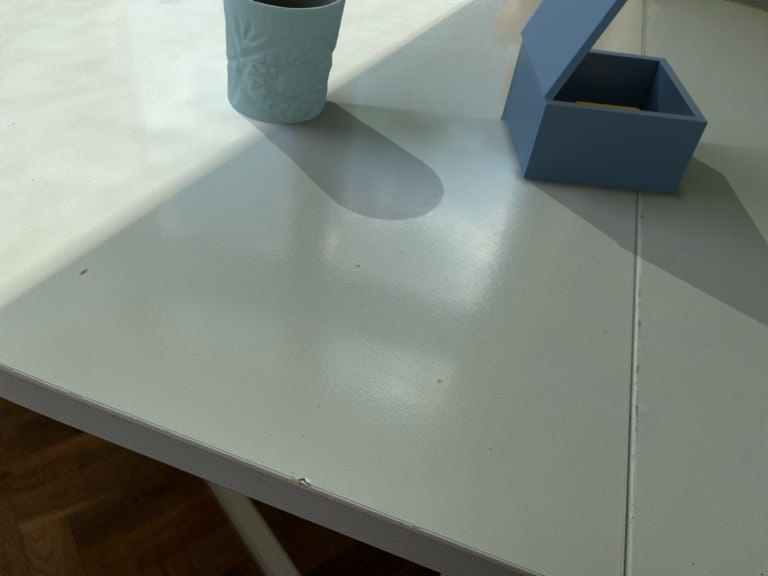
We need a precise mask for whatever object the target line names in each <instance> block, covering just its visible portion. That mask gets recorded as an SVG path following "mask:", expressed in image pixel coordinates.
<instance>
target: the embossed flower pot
mask: <svg viewBox="0 0 768 576" xmlns="http://www.w3.org/2000/svg"><path fill="white" fill-rule="evenodd" d="M346 1H347V0H222V2H223V13H224V21H225V56H226V60H227V61H226V62H227V63H226V71H227V81H226V82H227V84H226V85H227V87H226V88H227V89H226V91H227V92H226V93H227V95H226V96H227V101H228V103H229V104H230V106H231V107H232V108H233V109H234V110H235V111H236V112H238V113H239V114H240V115H242V116H245V117H247V118H249V119H252V120H254V121H259V122H262V123H268V124H278V125H287V124H291V125H292V124H298V123H303V122H305V121H306V122H307V121H310V120H312V119H315V118H316V117H317V116H319V115H320V114H321V113H322V112H323V110H324V109H325V105H326V101H327V96H328V91H329V89H328V88H329V87H328V85H329V84H328V83H329V82H328V81H329V78H330V73H331V70H332V67H333V54H334V52H335V49H336V48H337V44H338V39H339V32H340V29H341V23H342V19H343V15H344V10H345V5H346Z"/></svg>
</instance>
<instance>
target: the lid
mask: <svg viewBox="0 0 768 576" xmlns="http://www.w3.org/2000/svg"><path fill="white" fill-rule="evenodd" d="M628 1H629V0H542V1H541V2H540V4H539V5H538V7H537V8H536V10H534V13H533V14H532V15H531V17H530V18H529V20H528V21H527V23H526V24H525V25H524V27H523V28H522V30H521V31H520V33H519V34H520V36H521V39H522V41H523V42H524V45H525V47H526V50H527V53H528V55H529V58H530V60H531V63H532V66H533V68H534V71H535V74H536V76H537V79H538V82H539V84H540V87H541V89H542V92H543V95H544V97H546V98H548V99H550V100H552V99H553V98H554V97H555V96H556V94H557V93H558V92H559V90H560V89H561V88H562V86H563V85H564V84H565V82H566V81H567V80H568V78H569V77H570V76H571V74H572V73H573V72H574V71H575V69H576V68H577V67H578V65H579V64H580V63H581V61H582V60H583V59H584V57H585V56H586V55H587V53H588V52H589V51H590V49H593V47H594V46H595V44H596V43H597V41H598V40H599V39H600V38H601V36H602V35H603V34H604V32H605V31H606V30H607V28H608V27H609V26H610V25H611V23H612V22H613V21H614V19H615V18H616V16H617V15H618V14H619V13H620V11H621V10H622V9H623V7H624V6H625V5H626V4H627V2H628Z"/></svg>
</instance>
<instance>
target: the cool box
mask: <svg viewBox="0 0 768 576" xmlns="http://www.w3.org/2000/svg"><path fill="white" fill-rule="evenodd" d="M576 101H578V102H587V103H596V104H605V105H613V106H622V107H631V108H639V110H633V109H624V108H615V107H607V106H598V105H589V104H580V103H575V102H576ZM500 121H502V122H506V124H507V127H508V131H509V134H510V137H511V141H512V145H513V148H514V151H515V154H516V158H517V161H518V164H519V168H520V171H521V175H522V178H523V179H526V180H527V179H528V180H537V181H538V180H539V181H549V182H559V183H567V184H577V185H586V186H587V185H588V186H596V187H597V186H598V187H606V188H607V187H609V188H616V189H617V188H618V189H627V190H637V191H645V192H646V191H648V192H655V193H656V192H657V193H667V194H675V193H676V191H677V189H678V187H679V185H680V184H681V181H682V179H683V177H684V174H685V172H686V170H687V168H688V166H689V164H690V161H691V160H692V157H693V155H694V153H695V151H696V149H697V147H698V144H699V142H700V140H701V139H702V136H703V134H704V132H705V130H706V128H707V125H708V123H709V122H708V120H707V119H706V117H705V116H704V115H703V112H702V111H701V110H700V108H699V107H698V105H697V104H696V102H695V100H694V99H693V98H692V96H691V95H690V93H689V92H688V90H687V88H686V87H685V85H684V84H683V82H682V81H681V79H680V78H679V77H678V75H677V74H676V72H675V70H674V69H673V68H672V66H671V64H670V63H669V62H668V60H667V59H666V58H665V57H660V56H649V55H643V54H635V53H626V52H617V51H611V50H602V49H594V48H591V49H590V51H589V52H588V53H587V55H586V56H585V57H584V59H583V60H582V61H581V63H580V64H579V65H578V67H577V68H576V69H575V71H574V72H573V73H572V74H571V76H570V77H569V78H568V80H567V81H566V82H565V84H564V85H563V86H562V88H561V89H560V90H559V92H558V93H557V94H556V96H555V97H554V98H553V99H552V100H550V99H548V98H546V97H544V95H543V92H542V89H541V87H540V84H539V82H538V79H537V76H536V74H535V71H534V68H533V66H532V63H531V60H530V58H529V55H528V53H527V50H526V47H525V45H524V42H523V40H522V41H521V44H520V47H519V51H518V54H517V58H516V62H515V65H514V70H513V73H512V77H511V80H510V84H509V87H508V92H507V95H506V99H505V103H504V106H503V110H502V114H501V118H500Z"/></svg>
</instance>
